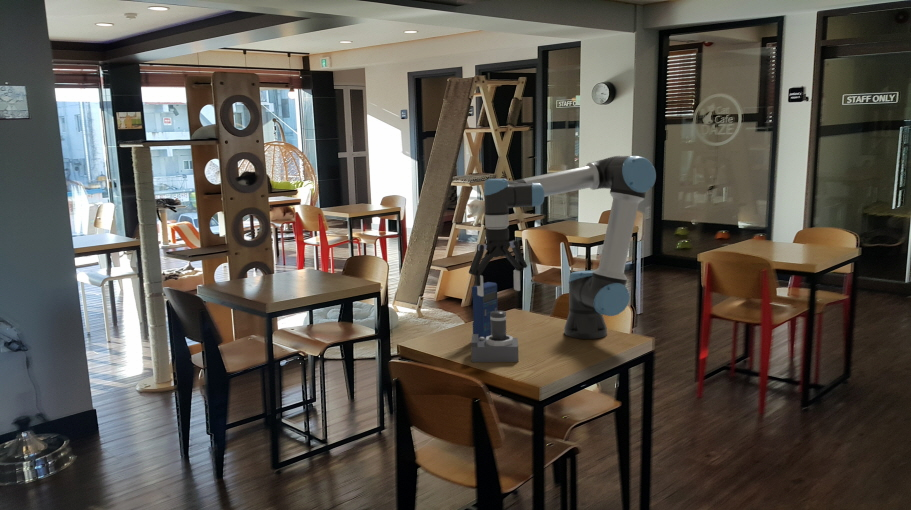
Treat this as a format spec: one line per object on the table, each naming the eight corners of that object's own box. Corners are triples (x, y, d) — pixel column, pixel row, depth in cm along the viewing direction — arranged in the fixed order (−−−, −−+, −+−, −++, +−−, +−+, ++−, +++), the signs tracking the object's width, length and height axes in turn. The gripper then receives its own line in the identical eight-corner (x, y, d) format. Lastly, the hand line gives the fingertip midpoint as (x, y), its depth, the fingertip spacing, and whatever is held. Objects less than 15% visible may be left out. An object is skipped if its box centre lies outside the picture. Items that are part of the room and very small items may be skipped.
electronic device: (483, 343, 247) (482, 287, 244) (472, 341, 251) (470, 286, 247) (499, 337, 255) (498, 283, 251) (488, 335, 258) (486, 281, 255)
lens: (509, 343, 230) (508, 313, 228) (495, 345, 227) (494, 315, 226) (501, 339, 234) (501, 309, 233) (487, 341, 232) (486, 312, 230)
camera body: (517, 352, 236) (517, 333, 235) (518, 361, 226) (518, 342, 225) (472, 352, 237) (472, 334, 236) (471, 362, 227) (471, 342, 226)
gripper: (524, 223, 233) (525, 285, 237) (456, 230, 223) (459, 295, 226) (536, 225, 227) (538, 289, 230) (467, 232, 216) (470, 300, 219)
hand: (499, 292), depth 228 cm, fingers open, 13 cm apart
